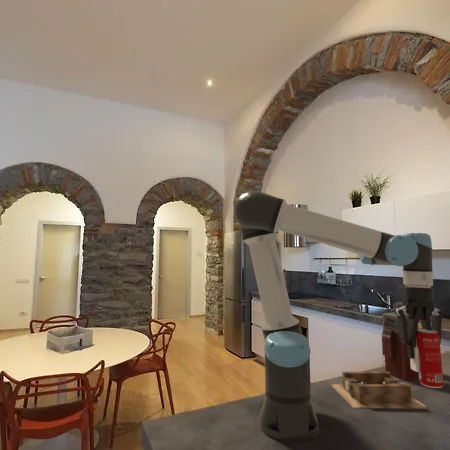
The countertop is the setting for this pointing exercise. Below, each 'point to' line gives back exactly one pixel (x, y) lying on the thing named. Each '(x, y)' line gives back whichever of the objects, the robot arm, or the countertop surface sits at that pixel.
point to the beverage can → (429, 358)
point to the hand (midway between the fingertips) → (421, 370)
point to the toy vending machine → (396, 347)
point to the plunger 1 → (349, 385)
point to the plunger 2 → (391, 383)
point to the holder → (377, 391)
